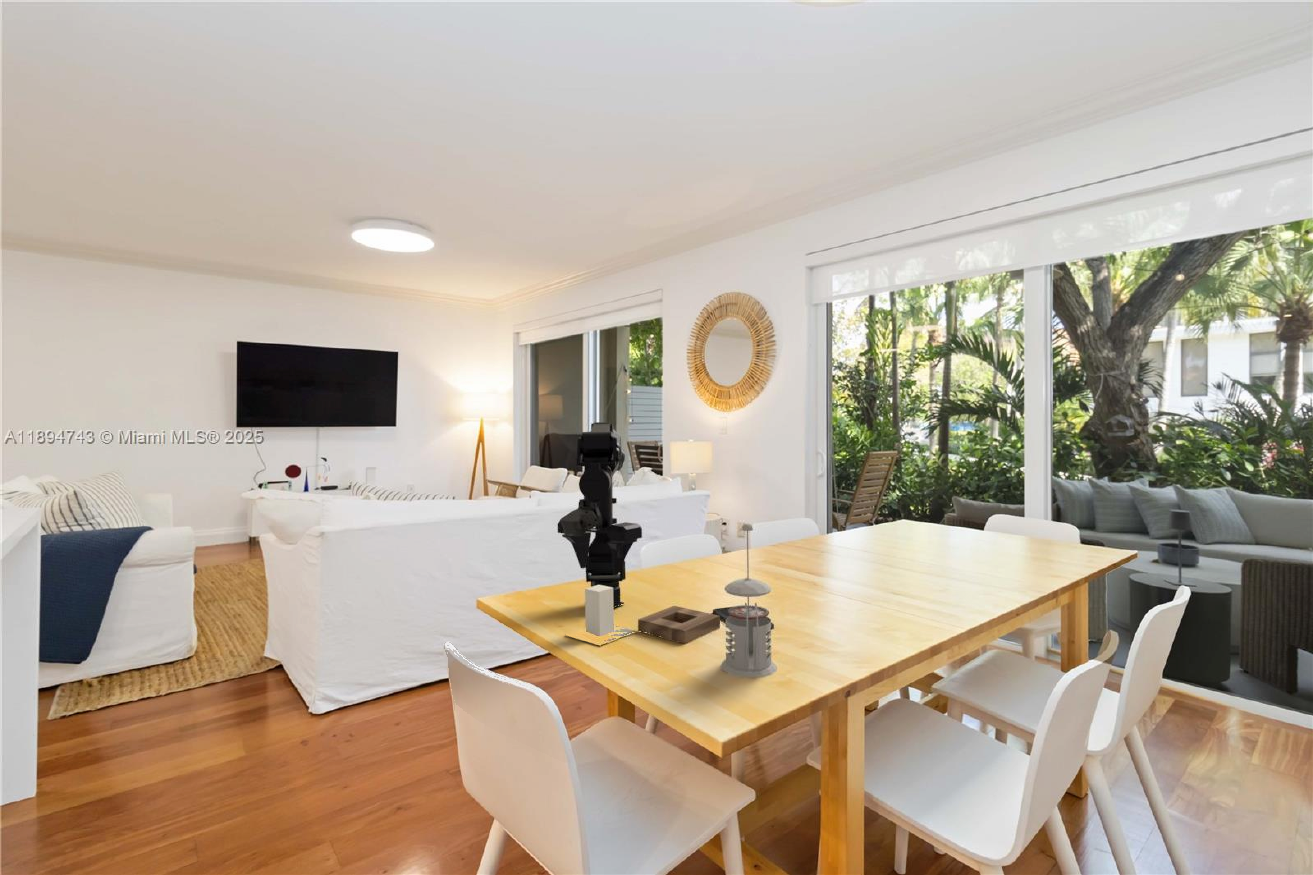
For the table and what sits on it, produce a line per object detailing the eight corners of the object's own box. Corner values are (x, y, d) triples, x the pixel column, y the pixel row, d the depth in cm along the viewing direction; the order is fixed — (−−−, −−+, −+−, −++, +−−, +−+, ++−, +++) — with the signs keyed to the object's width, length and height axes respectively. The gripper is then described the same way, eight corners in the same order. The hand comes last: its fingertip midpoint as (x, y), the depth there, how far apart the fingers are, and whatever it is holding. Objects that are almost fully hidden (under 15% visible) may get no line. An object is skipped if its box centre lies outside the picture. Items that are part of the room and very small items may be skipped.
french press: (773, 656, 115) (771, 519, 114) (783, 682, 103) (782, 529, 103) (718, 656, 115) (717, 519, 115) (723, 682, 104) (721, 530, 103)
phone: (742, 605, 144) (776, 625, 130) (742, 610, 144) (776, 630, 130) (710, 609, 142) (741, 629, 127) (710, 614, 142) (741, 635, 127)
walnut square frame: (638, 631, 129) (638, 619, 129) (674, 617, 139) (673, 605, 139) (685, 643, 122) (685, 630, 122) (719, 627, 131) (719, 615, 131)
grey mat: (564, 636, 127) (564, 634, 127) (599, 623, 135) (599, 621, 135) (600, 646, 121) (600, 644, 121) (635, 632, 129) (635, 630, 129)
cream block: (585, 633, 128) (585, 588, 127) (599, 627, 131) (598, 584, 131) (600, 637, 125) (599, 591, 125) (613, 631, 128) (613, 587, 128)
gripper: (536, 494, 127) (537, 572, 127) (603, 501, 115) (604, 586, 115) (577, 490, 136) (578, 562, 136) (643, 495, 124) (644, 574, 124)
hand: (599, 571), depth 128 cm, fingers open, 9 cm apart
